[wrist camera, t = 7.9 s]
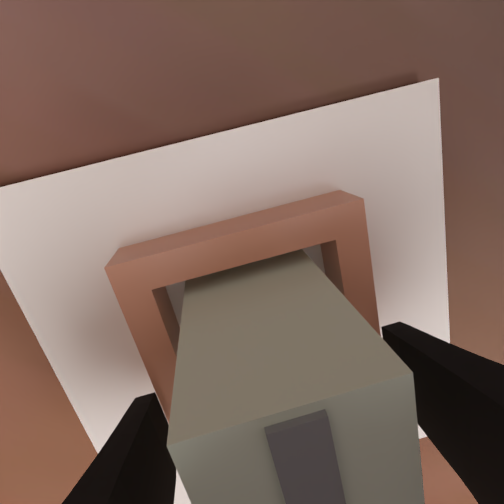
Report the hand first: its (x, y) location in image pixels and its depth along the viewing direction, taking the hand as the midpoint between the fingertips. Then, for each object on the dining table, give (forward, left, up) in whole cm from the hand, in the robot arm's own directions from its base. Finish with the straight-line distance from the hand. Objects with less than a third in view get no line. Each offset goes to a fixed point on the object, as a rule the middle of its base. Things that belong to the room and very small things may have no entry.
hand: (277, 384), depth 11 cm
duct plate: (0, 0, -4) cm, 4 cm away
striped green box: (0, 0, -3) cm, 3 cm away
